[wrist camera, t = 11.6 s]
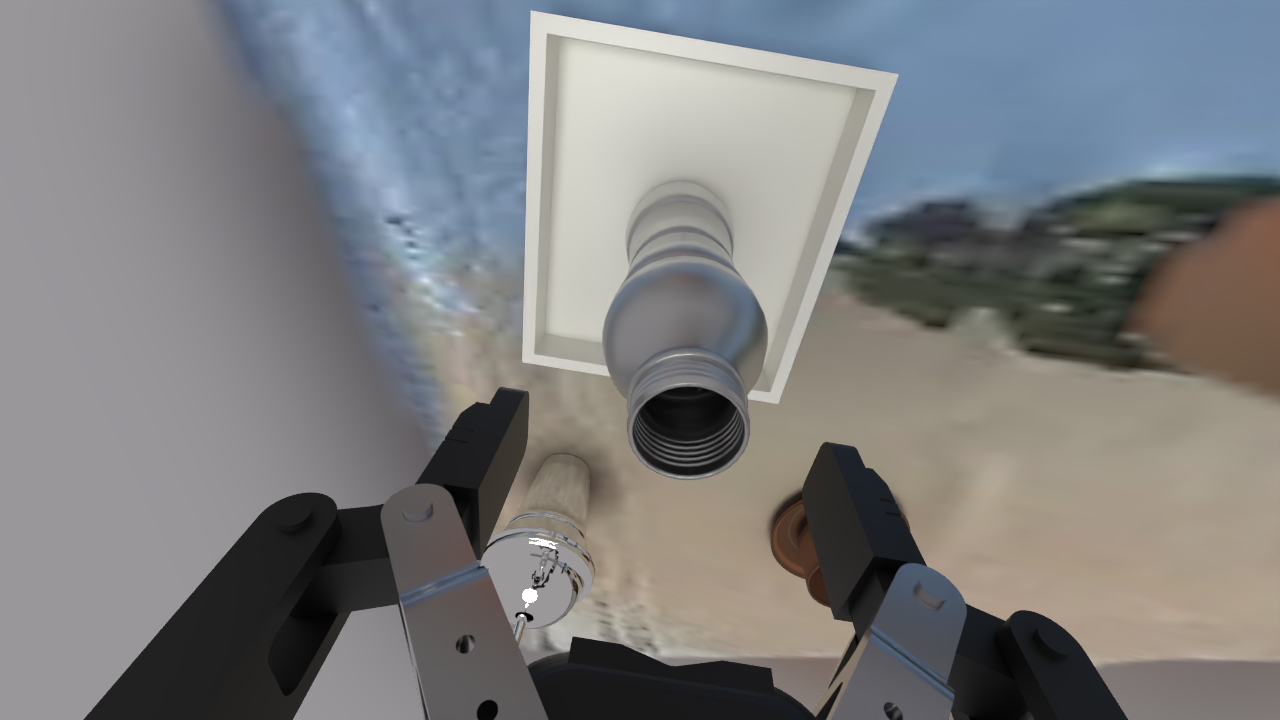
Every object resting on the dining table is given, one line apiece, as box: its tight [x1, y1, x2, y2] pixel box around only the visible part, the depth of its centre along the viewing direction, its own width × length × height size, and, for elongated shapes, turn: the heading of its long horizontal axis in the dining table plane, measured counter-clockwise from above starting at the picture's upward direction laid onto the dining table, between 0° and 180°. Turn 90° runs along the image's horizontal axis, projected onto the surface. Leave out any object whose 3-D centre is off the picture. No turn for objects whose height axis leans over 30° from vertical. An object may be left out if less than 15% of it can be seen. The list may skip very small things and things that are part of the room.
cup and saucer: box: [771, 500, 910, 608], centre depth 43 cm, size 12×12×6 cm
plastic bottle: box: [602, 182, 768, 480], centre depth 22 cm, size 6×7×20 cm
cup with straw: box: [480, 454, 596, 648], centre depth 36 cm, size 8×9×20 cm
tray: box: [522, 11, 899, 404], centre depth 30 cm, size 20×18×4 cm
